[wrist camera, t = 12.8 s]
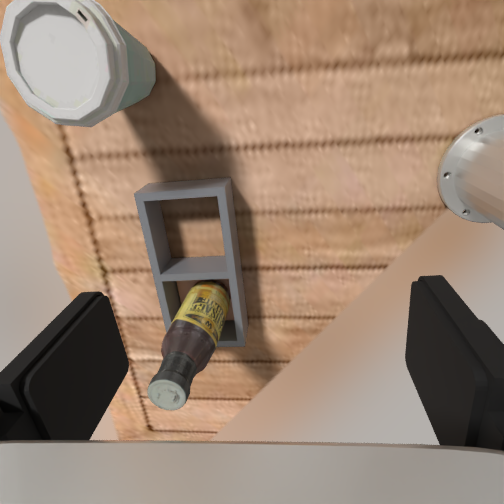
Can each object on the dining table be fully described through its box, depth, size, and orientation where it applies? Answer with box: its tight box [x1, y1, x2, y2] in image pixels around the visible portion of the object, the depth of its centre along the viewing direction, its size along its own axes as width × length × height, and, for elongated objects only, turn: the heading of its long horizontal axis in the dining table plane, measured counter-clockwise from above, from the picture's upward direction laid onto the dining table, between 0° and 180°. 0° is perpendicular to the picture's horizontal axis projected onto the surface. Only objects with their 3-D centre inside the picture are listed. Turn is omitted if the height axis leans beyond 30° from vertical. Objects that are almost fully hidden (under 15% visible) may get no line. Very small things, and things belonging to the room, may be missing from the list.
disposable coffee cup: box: [0, 0, 156, 127], centre depth 35 cm, size 11×11×15 cm
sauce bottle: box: [148, 279, 231, 410], centre depth 44 cm, size 6×6×20 cm
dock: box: [134, 177, 248, 347], centre depth 49 cm, size 11×23×5 cm, turn 5°
